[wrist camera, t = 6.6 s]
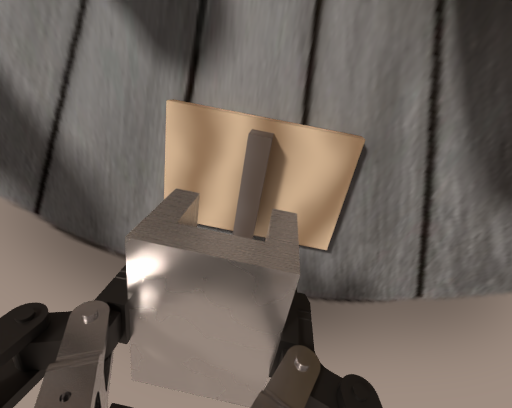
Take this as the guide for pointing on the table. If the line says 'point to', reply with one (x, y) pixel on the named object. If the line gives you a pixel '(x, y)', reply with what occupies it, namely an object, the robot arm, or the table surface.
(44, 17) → the table surface
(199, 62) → the table surface
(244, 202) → the stand
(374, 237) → the table surface
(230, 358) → the notched grey block
